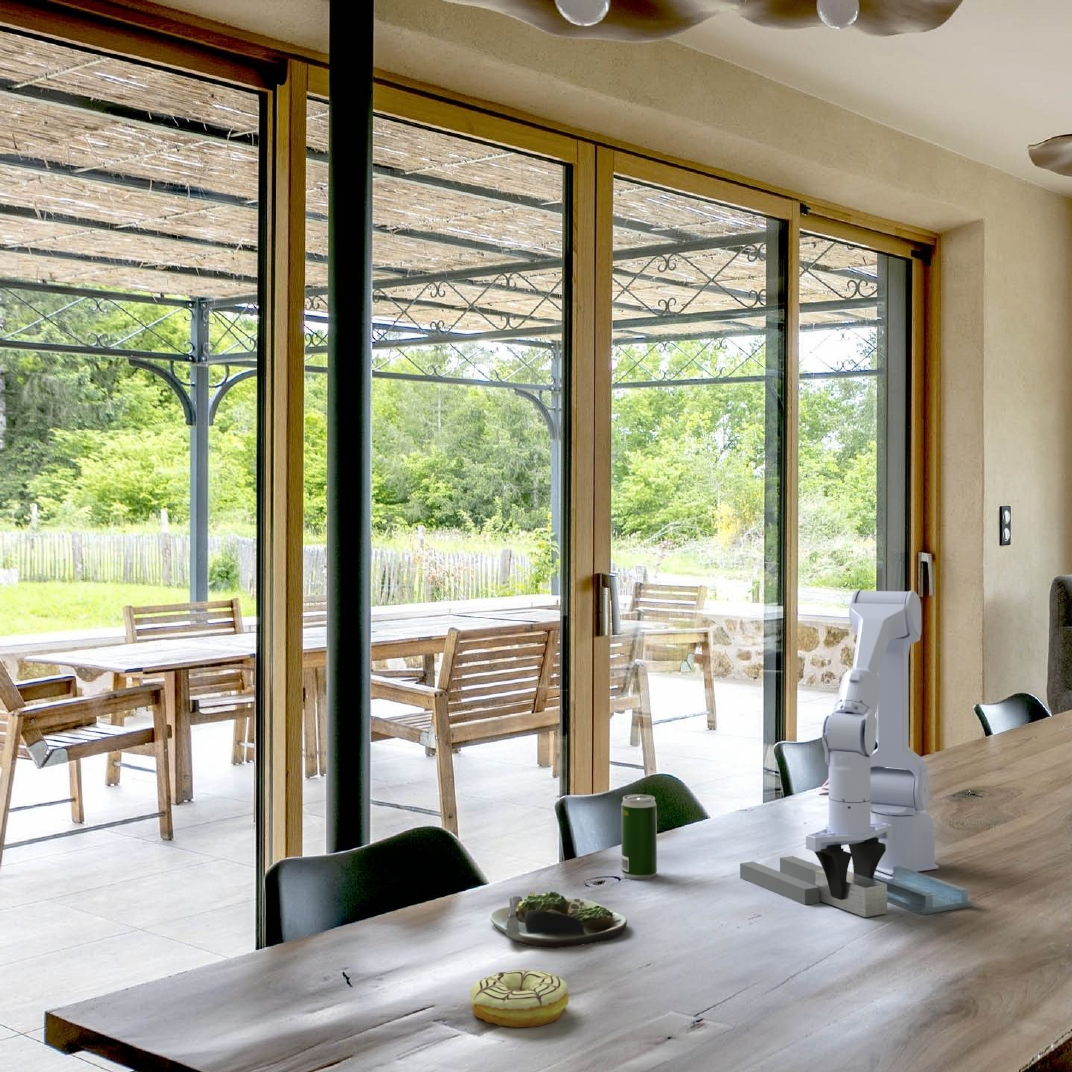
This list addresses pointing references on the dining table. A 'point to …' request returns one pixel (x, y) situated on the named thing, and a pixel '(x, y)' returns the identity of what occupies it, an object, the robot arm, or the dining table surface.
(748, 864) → the grey bars
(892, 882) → the cradle
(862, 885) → the rectangular block
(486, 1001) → the decorated donut
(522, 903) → the salad plate
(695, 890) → the dining table surface
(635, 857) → the beer can
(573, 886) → the dining table surface
